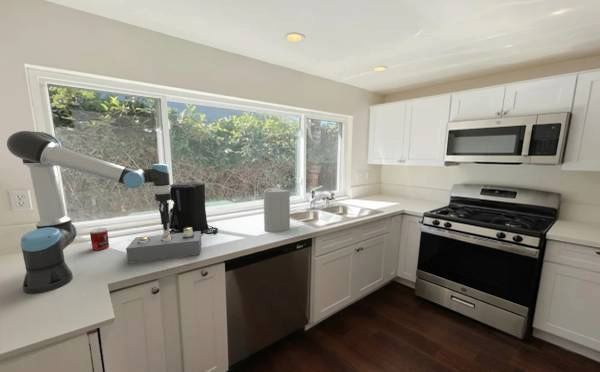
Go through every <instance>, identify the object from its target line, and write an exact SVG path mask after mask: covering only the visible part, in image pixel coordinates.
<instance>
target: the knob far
mask: <svg viewBox="0 0 600 372" xmlns="http://www.w3.org/2000/svg"><path fill="white" fill-rule="evenodd" d="M186 238H193V232H192V227H186V228H184V239H186Z"/></svg>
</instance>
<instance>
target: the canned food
mask: <svg viewBox="0 0 600 372" xmlns="http://www.w3.org/2000/svg"><path fill="white" fill-rule="evenodd" d="M108 232H109V231H108V229H107V228H106V227H99V228H94V229H92V230H90V231H89V235H90V241H91V249H92V250H93V251H94V252H97V251H98V252H99V251H104V250H107V249H108V248H109V247H110V241H109V233H108Z"/></svg>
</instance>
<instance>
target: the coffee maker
mask: <svg viewBox="0 0 600 372" xmlns="http://www.w3.org/2000/svg"><path fill="white" fill-rule="evenodd" d="M170 186H171V188H170V193H171V199H170V200H169V201H172V203H173V204H172V207H171V208H169V221H170V223H169V231H170V234H175V233H184V228H186V227H192V232H195V231H201V235H202V234H204V233H206V234H209V235H210V234H213V235H216V234H217V233H218V231H219V230H218V227H213V226H211V225H209V224H208V220H207V218H208V217H207V210H206V184H205V183H204V182H191V181H190V182H180V183H173V184H170ZM210 230H212V231H210Z"/></svg>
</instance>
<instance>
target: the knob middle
mask: <svg viewBox="0 0 600 372" xmlns="http://www.w3.org/2000/svg"><path fill="white" fill-rule="evenodd" d="M171 234H172V233H170V235H166V236H164V234H161V235H162V241H168V240H171Z"/></svg>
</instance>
